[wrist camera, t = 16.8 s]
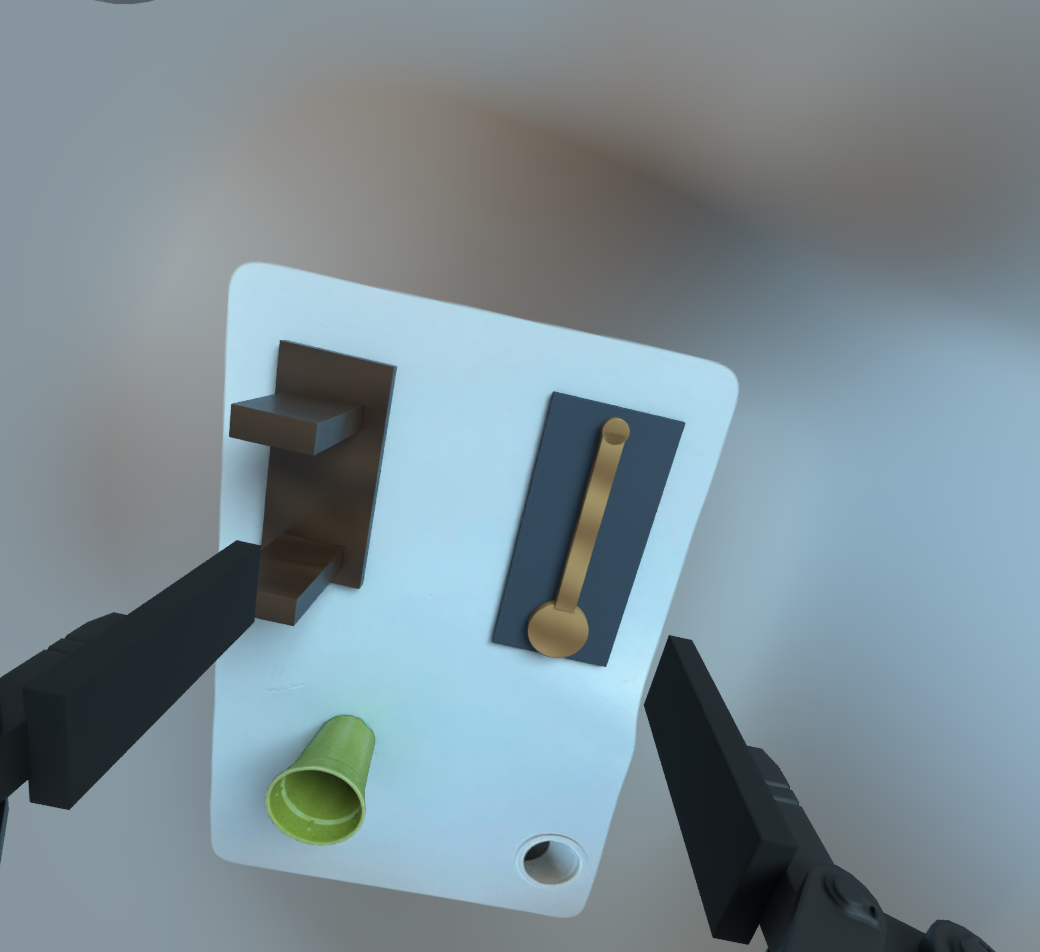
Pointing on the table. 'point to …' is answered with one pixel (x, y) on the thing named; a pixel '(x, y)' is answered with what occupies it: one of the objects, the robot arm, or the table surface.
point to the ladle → (579, 554)
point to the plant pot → (325, 785)
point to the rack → (316, 472)
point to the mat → (557, 512)
